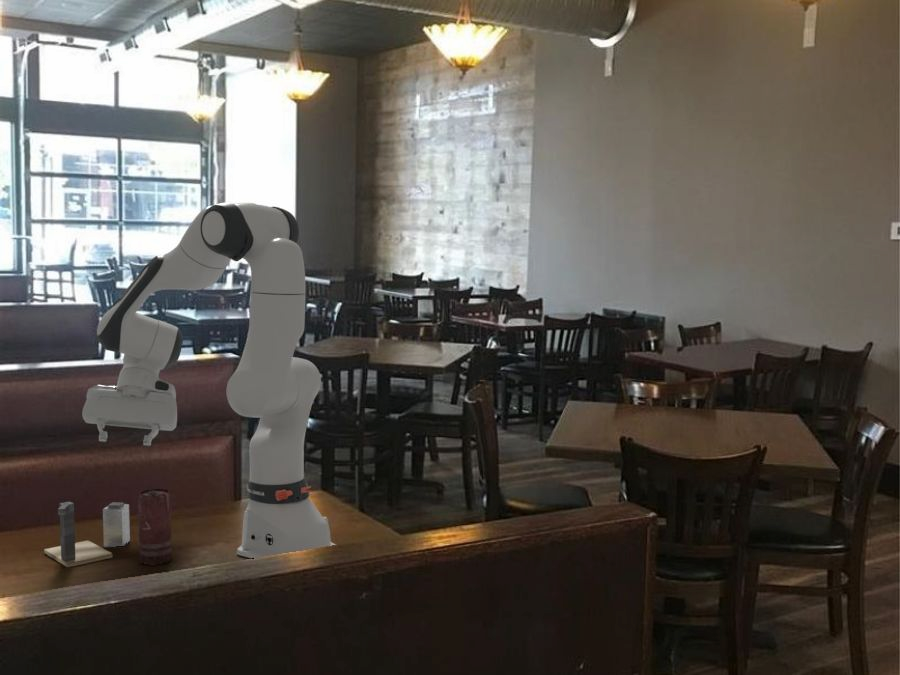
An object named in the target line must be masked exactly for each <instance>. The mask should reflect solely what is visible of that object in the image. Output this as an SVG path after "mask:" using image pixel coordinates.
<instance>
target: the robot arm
mask: <svg viewBox="0 0 900 675" xmlns="http://www.w3.org/2000/svg"><path fill="white" fill-rule="evenodd" d="M299 230H300V229H299V225H298V222H297V219H296V217H295V216H294V215H293V214H292V213H291V212H290V211H289V210H286V209H284V208H281V207H278V206H267V205H263V204H257V203H254V202H233V203H232V202H230V201H229V202H228V201H227V202H221V203H220V202H219V203H216V204H214V205H208V206H206V207H204V208H203V209H202V210H201V211H200V212H199V213H198V214H197V215H196V216H195V218H193V220H192V222H191V223H190V225H189V226H188V227H187V229H186V231H185V232H184V234H183V236H182V237H181V239H180V241H179V242H178V244H177V245H176V247H174V248H173V249H172V250H170V251H169V252H167V253H165V254H161V255H156V256H154V257H153V258H151V259H150V261H148V263H147V264H146V265H145V266H144V267H143V268H142V270H141V271H139V273H138V274H137V276H136V277H135V278H134V279H133V280H132V282H131V283H130V285H129V286H128V287H127V288H126V289H125V291H124V292H123V293H122V295H120V297H119V298H118V299H117V301H116V302H114V304H113V305H112V306H111V307H110V308H108V310H107V311H106V312H105V313H104V315H102V317H101V318H100V320H99V322H98V325H97V328H96V337H97V340H98V341H99V343H100V345H101V346H102V348H103V349H104V350H105V351H110V352H114V353H119V354H120V353H121V354H123V359H122V362H123V366H122V369H121V370H120V372H119V375H118V378H117V382H116V386H115V385H101V384H96V385H94V386H90V388H88V390H87V392H86V394H85V398H86V400H85V402H84V405H83V407H82V412H81V415H82V419H83V421H84V422H85V424H92V425H93V424H94V425H96V426H97V430H98V432H99V434H98V441H99V442H103V443H105V442H107V440H108V431H106V430H104V429H105V426H113V427H124V428H125V427H126V428H134V429H135V428H136V429H147V430H151V431H150V432H149V433H148V434H147V435H146V434H144V436H143V440H142V445H143V446H147V447H150V446H151V445H152V440H153V439H155V438H156V437H157V435H158V434H159V431H166V432H167V431H169V432H172V431H174V430H175V429H176V428H177V423H178V407H177V406H178V405H177V401H176V400H177V393H176V391H177V390H176V388H175V385H173V384H172V383H169V382H167V381H165V380H162V379H160V377H159V376H160V371H161V370H162V371H163V370H166V369H168V368H170V367H171V366H173V365H175V364H176V363H177V362H178V360H179V359H180V356H181V352H182V348H183V342H184V338H183V334H182V332H181V330H180V328H179V327H177V326H175V325H174V324H171V323H167V322H165V321H163V320H160V319H155V318H153V317H149V316H148V315H144V314H142V313H139V312H138V310H139V309H140V308H141V306H143V304H144V303H145V301H146V300H147V299H148V298H149V297H150V295H152V294H153V293H156V292H157V291H163V290H164V291H165V290H179V291H181V290H183V291H199V290H200V291H201V290H204V289H207V288H210V287H212V286H214V285H215V284H216V283H217V282H218V280H220V278H221V277H222V275H224V274H223V273H224V272H225V270H226V269H227V266H228V265H229V262H230V261H231V260H232V261H234V262H239V261H241V260H243V259H244V261H246V262H247V264H248V265H249V268H250V274H251V275H250V297H249V301H250V303H249V324H248V333H247V336H246V342H245V344H244V348H243V352H242V355H241V357H240V361H239V363H238V366H237V367H236V369H235V371H234V372H233V374H232V375H231V376H230V378H229V379H228V381H227V384H226V389H225V390H226V392H225V393H226V399H227V401H228V404H229V406H230V408H232V410H233V412H235V413H236V414H237V415H239V416H242V417H245V418H255V419H256V418H257V419H258V418H259V422H258V425H257V427H256V430H255V432H254V434H253V436H251V439H250V442H249V446H248V447H249V449H248V451H249V455H248V456H249V479H247V486H246V490H247V497H248V499H249V501H248V504H247V506H246V509H245V510H244V513H243V521H242V532H241V533H242V534H241V535H242V536H241V545H240V546H239V547H237V548H236V549H237V551H236V554H237V555H239V556H242V557H245V558H249V559H252V558H256V557H263V556H270V555H277V554H282V553H289V552H296V551H303V550H308V549H314V548H320V547H326V546H332V545H336V543H334V542H332V541H331V532H330V525H329V519H328V518H327V516H323V515H322V514H321V512H320V511H319V510H318V508H317V507H316V505H315V504H314V503H313V502H312V500H311V498H310V492H312V490H309V489H311V488H312V486H311V485H309V486H308V483H307V479H306V477H305V472H304V470H305V468H304V467H305V464H304V463H305V462H304V460H305V448H304V447H305V437H306V431H307V426H308V423H309V417H310V412H311V410H312V406H313V403H314V400H315V399H316V397H317V395H318V394H319V392H320V390H321V387H322V378H321V373H320V371H319V369H318V368H317V366H316V365H315V364H314V363H313V362H311V361H310V360H308V359H305V358H301V357H295V356H294V352H295V350H296V347H297V344H298V342H299V340H300V339H301V338H302V337H303V335H304V332H305V325H306V324H305V321H306V318H305V317H306V285H307V284H306V270H305V263H304V261H305V260H304V256H303V251H302V249H301V247H300V245H299V244H298V240H299V234H300V232H299Z"/></svg>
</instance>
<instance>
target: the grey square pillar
mask: <svg viewBox="0 0 900 675" xmlns="http://www.w3.org/2000/svg"><path fill="white" fill-rule="evenodd" d="M102 527H103V532H102V533H103V547H104V548H117V547H116V546H124V545H125V544H126V543H127V544H128V542H129V541H130V542H131V534H130V532H131V530H130V528H131V527H130V504H127V503H125V502H120V501H119V502H116V501H113V502H110V503H109V504H108V505H107V506H105V507H104V508H103V509H102ZM130 542H129V543H130ZM127 544H126V545H127ZM126 545H125V546H126ZM125 546H124V547H125Z"/></svg>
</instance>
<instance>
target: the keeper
mask: <svg viewBox="0 0 900 675" xmlns="http://www.w3.org/2000/svg"><path fill="white" fill-rule="evenodd" d="M74 504H75V503H74V502H71V501H65V502H60V503H59V508H57V515H58V516H59V531H60V545H59V546H54V547H49V548H44V550H43V553H44V554H45V555H46V554H47V556H48V557H50V558H52V559H53V560H55V561H56V562H58V563H60V564H61V565H63V566H65V567H66V568H72V567H76V566H80V565H84V564H89V563H93V562H98V561H104V560H106V559H112V558H113V556H114V555H113V553H112V552H111V551H108V550H107V549H105V548H103V547H101V546H99V545H98V544H95V543H94V542H92V541H90V540H83V541H77V542H76V534H75V531H76V530H75V505H74Z"/></svg>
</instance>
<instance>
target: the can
mask: <svg viewBox="0 0 900 675" xmlns="http://www.w3.org/2000/svg"><path fill="white" fill-rule="evenodd" d="M137 503H138V504H137V506H138V508H137V509H138V510H137V512H138V538H139V539H138V540H139V541H138V542H139V546H138V548H139V562H141V563H146V564H161V563H165V564H167V563H169V562H170V561H171V560H172V558H173V543H172V541H173V540H172V539H173V538H172V497H171V494H170V492H169V490H168V489H166V488H165V489H164V488H151V489H145V490H142V491H140V492H139V494H138V498H137ZM161 565H162V564H161Z"/></svg>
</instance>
